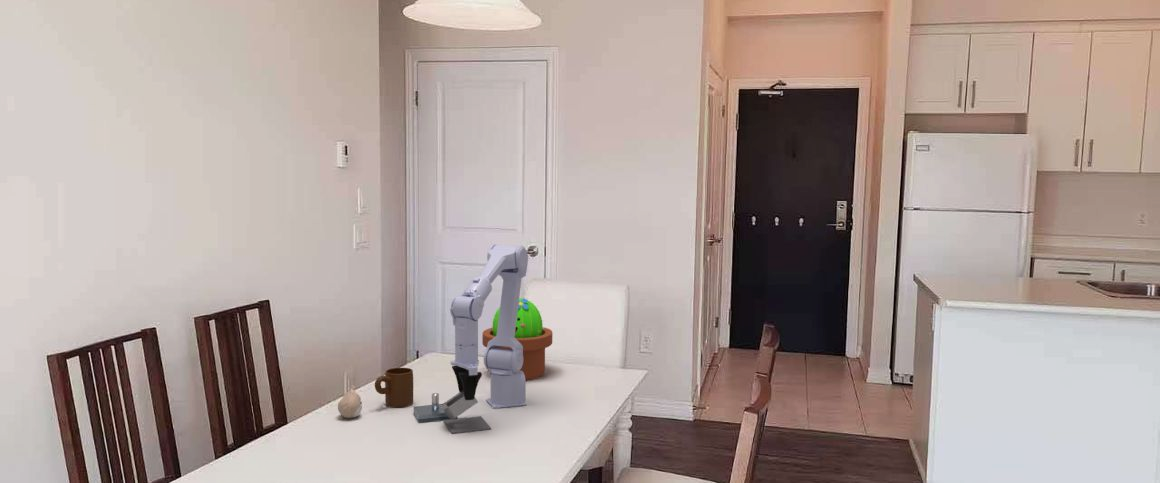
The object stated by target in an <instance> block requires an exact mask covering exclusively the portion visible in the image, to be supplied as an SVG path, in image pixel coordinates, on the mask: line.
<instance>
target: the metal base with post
mask: <svg viewBox="0 0 1160 483" xmlns="http://www.w3.org/2000/svg"><path fill="white" fill-rule="evenodd" d="M439 395H440V394H439V393H438V392H435V393H431V404H425V405H415V406H413V416H414V417H415V419H416V421H417V422H418V423H419V424H421V423H431V422H440V421H441V422H443V420H450V419H449V417H448V416H447V414H446V413H445V411H444V410H443V408H442V407H441V405H442V404H443V403H440V396H439ZM455 419H459V416H458V417H456V418H455Z"/></svg>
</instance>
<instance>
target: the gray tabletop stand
mask: <svg viewBox="0 0 1160 483" xmlns="http://www.w3.org/2000/svg"><path fill="white" fill-rule="evenodd" d="M478 403H479V400H478V399H477V398H476V396H475V397H474V400H465V397H464V391H463V390H462V391H461V392H459V391H458V392H457V394H455V395H454V396H452V397H451V398H449V399H448V400H446V401H445V402H443V403H441V404H442V405H441V407H442V408H443V410H444V411H445V413H446V414H447V416H448V417H449V419H450V420H451V421H452V420H453V419H455V418H456V417H458V418H459V416H460V415H462V414H464V413H465V412H466V411H467V410H469V409H471V408H472V407H474V406H475V405H476V404H478Z"/></svg>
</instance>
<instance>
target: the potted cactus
mask: <svg viewBox="0 0 1160 483" xmlns="http://www.w3.org/2000/svg"><path fill="white" fill-rule="evenodd" d="M499 311H500V306H499V307H498V308H497V309H496V312H494V314H493V315H492V317H493V318H492V326H491V327H489V328H487V329H485V330H483V332H482V341H481V342H482V345H483V347H485V348H487V344H488V342H489V341H490V340H492V339H493V338H494V337H496V336H497V328H498V320H499ZM515 338H516V339H517V340H518V341H519V342H520V343H521V345H522V346H523V365H522V368H521V369H520V370H519V371H523V373H524V375H525V381H529V380H535V379H538V378H541V377H542V376H543V375H544V374H546V373H545V372H546V348H549V347H551V345H552V344H553V330H552V329H550V328H548V327H544V326H543V319H542V316H541V312H540V310H539V309H538V308H537V306H536V305H535V304H534V302H532V301H530V300H529V299H528V298H526V297H523V298H521V297H519V304H518V312H517V321H516V329H515ZM498 348H504V349H512V348H511V347H503V346H500V347H498ZM489 374H490V375H491V373H490V372H489Z"/></svg>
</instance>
